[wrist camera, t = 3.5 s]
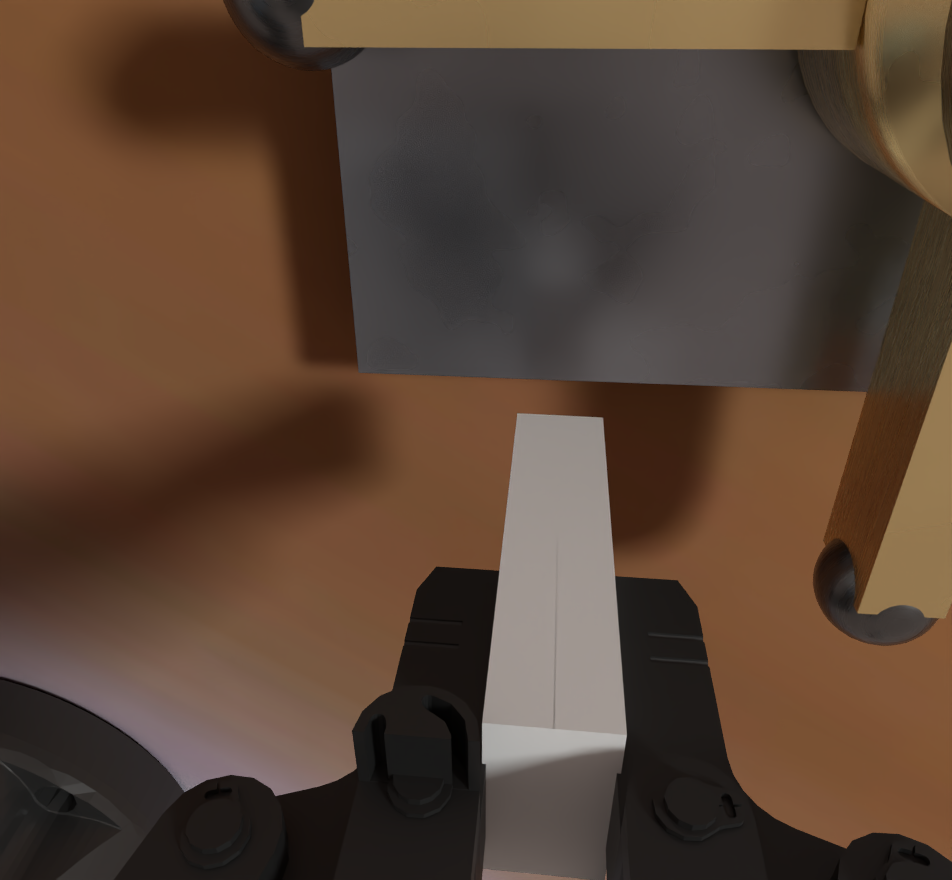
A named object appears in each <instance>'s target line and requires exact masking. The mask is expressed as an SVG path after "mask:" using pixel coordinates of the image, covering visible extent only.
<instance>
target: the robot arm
mask: <svg viewBox="0 0 952 880" xmlns="http://www.w3.org/2000/svg"><path fill="white" fill-rule="evenodd" d="M352 734H353V741H354V749H355V756H356V764H357V769H355V770H354V771H353V772H351V773H350V774H348V775H346V776H344V777H343V778H341V779H339V780H337V781H335V782H332V783H329V784H326V785H323V786H320V787H315V788H311V789H306V790H302V791H297V792H293V793H288V794H284V795H279V796H275V795H274V793H273V791H272V790H271V789H270V788H269V787H267V786H266V785H264V784H262V783H261V782H259V781H258V780H256V779H254V778H250V777H242V776H235V775H229V776H224V777H220V778H215V779H210V780H206V781H204V782H203V783H201V784H199V785H197V786H195V787H194V788H192V789H190V790H188V791H186V792H185V793H184V791H183V790H182V789H181V787H180V786H179V784H178V783H177V782H176V781H175V779H174V778H173V777H172V776H171V775H170V773H169V772H168V771H167V770H166V769H165V768H164V767H163V766H162V765H161V764H160V763H159V762H158V761H157V760H156V759H155V758H153V757H152V756H151V755H150V754H149V753H148V752H147V751H145V750H144V749H143V748H142V747H141V746H139V745H138V744H137V743H135V742H134V741H133V740H131V739H130V738H129V737H127V736H126V735H124V734H123V733H121V732H120V731H118V730H117V729H115V728H114V727H112V726H110V725H109V724H107V723H105V722H104V721H102V720H100V719H99V718H97V717H95V716H93V715H91V714H89V713H87V712H86V711H83V710H81V709H79V708H77V707H75V706H73V705H71V704H69V703H67V702H64V701H62V700H60V699H57V698H55V697H52V696H50V695H47V694H45V693H42V692H39V691H36V690H34V689H31V688H28V687H25V686H21V685H18V684H14V683H11V682H8V681H3V680H0V880H482V871H483V869H491V870H501V871H511V872H521V873H531V874H541V875H551V876H561V877H571V878H580V879H590V880H605V874H606V870H607V880H952V862H951V861H950V860H948V859H947V858H945V857H944V856H942V855H941V854H940V853H938V852H937V851H935V850H934V849H932V848H931V847H930V846H928V845H926V844H924V843H921V842H918V841H916V840H913V839H910V838H908V837H905V836H902V835H900V834H887V833H871V834H868V835H866V836H863V837H861V838H858V839H856V840H853V841H852V842H851V843H850V845H849V846H848V847H847V849H846V848H843V847H840V846H838V845H835V844H833V843H830V842H828V841H825V840H823V839H820V838H818V837H815V836H812V835H810V834H807V833H805V832H802V831H800V830H797V829H795V828H793V827H791V826H789V825H787V824H785V823H783V822H781V821H779V820H777V819H775V818H773V817H772V816H771V815H769V814H768V813H767V812H765V811H764V810H763V809H761V808H760V807H759V806H757V805H756V804H755V803H754V802H753V800H752V799H751V798H750V797H749V796H748V795H747V794H746V793H745V792H744V791H743V790H742V788H741V786H740V785H739V783H738V781H737V780H736V778H735V777H734V775H733V773H732V770H731V767H730V764H729V761H728V758H727V753H726V748H725V743H724V738H723V733H722V728H721V723H720V718H719V713H718V708H717V703H716V698H715V693H714V688H713V683H712V678H711V673H710V668H709V667H708V658H707V653H706V648H705V643H704V642H703V633H702V628H701V623H700V618H699V613H698V608H697V606H696V604H695V603H694V602H693V600H692V599H691V598H690V596H689V595H688V594H687V592H686V591H685V590H684V588H683V587H682V586H681V584H680V583H679V582H678V580H663V579H648V578H633V577H617V576H615V570H614V557H613V544H612V531H611V517H610V504H609V491H608V478H607V464H606V451H605V438H604V425H603V418H602V417H582V416H561V415H540V414H519V413H517V422H516V431H515V439H514V448H513V457H512V466H511V475H510V483H509V492H508V501H507V510H506V518H505V527H504V536H503V545H502V553H501V562H500V571H494V570H479V569H464V568H449V567H436V568H435V569H434V570H433V571H432V572H431V574H430V575H429V576H428V577H427V578H426V580H425V581H424V582H423V583H422V584H421V585H420V587H419V588H418V589H417V591H416V595H415V599H414V604H413V608H412V612H411V616H410V623H409V624H408V628H407V632H406V637H405V644H404V646H403V649H402V653H401V657H400V661H399V665H398V670H397V674H396V678H395V682H394V686H393V690H392V691H391V692H388V693H386V694H383V695H381V696H379V697H378V698H377V699H376V700H375V701H374V702H372V703H371V704H370V705H369V706H368V707H367V708H365V709H364V710H363V711H362V713H361V715H360V717H359V719H358V721H357V723H356V724H355V726H354V728H353V730H352Z"/></svg>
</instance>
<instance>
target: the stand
mask: <svg viewBox="0 0 952 880" xmlns="http://www.w3.org/2000/svg"><path fill="white" fill-rule="evenodd" d="M331 72H332V83H333V94H334V105H335V116H336V127H337V138H338V149H339V160H340V171H341V182H342V193H343V204H344V215H345V226H346V237H347V248H348V259H349V270H350V281H351V292H352V303H353V314H354V325H355V336H356V347H357V358H358V369H359V373H383V374H410V375H436V376H463V377H489V378H516V379H542V380H569V381H595V382H622V383H648V384H675V385H701V386H728V387H754V388H781V389H807V390H834V391H860V392H867V391H868V388H869V384H870V381H871V378H872V374H873V371H874V367H875V364H876V361H877V357H878V354H879V351H880V347H881V344H882V340H883V337H884V334H885V330H886V327H887V324H888V320H889V317H890V313H891V310H892V307H893V303H894V300H895V297H896V293H897V290H898V286H899V283H900V280H901V276H902V273H903V270H904V266H905V263H906V259H907V256H908V253H909V249H910V246H911V243H912V239H913V236H914V232H915V229H916V226H917V222H918V219H919V216H920V212H921V209H922V205H923V202H924V199H922V198H921V197H919V196H917V195H916V194H914V193H913V192H911V191H910V190H908V189H906V188H905V187H903V186H902V185H900V184H898V183H897V182H895V181H894V180H892V179H890V178H889V177H887V176H886V175H884V174H882V173H881V172H879V171H878V170H876V169H874V168H873V167H871V166H870V165H868V164H866V163H865V162H863V161H862V160H860V159H859V158H857V157H856V156H855V155H854V154H852V153H851V152H850V151H849V150H848V149H846V148H845V147H844V146H843V145H842V144H841V143H840V142H839V141H838V140H837V139H836V138H835V136H834V135H833V134H832V133H831V132H830V131H829V129H828V128H827V127H826V125H825V124H824V122H823V121H822V119H821V117H820V116H819V114H818V113H817V111H816V109H815V108H814V105H813V103H812V101H811V98H810V96H809V94H808V91H807V89H806V87H805V84H804V80H803V76H802V72H801V68H800V65H799V61H798V52H797V50H773V49H575V48H377V47H366V48H365V49H364V50H363V51H362V52H361V53H360V54H359V55H357V56H356V57H355V58H354V59H352V60H350V61H349V62H347V63H345V64H343V65H340V66H338V67H335V68H331Z"/></svg>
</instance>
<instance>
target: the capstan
mask: <svg viewBox="0 0 952 880" xmlns="http://www.w3.org/2000/svg"><path fill="white" fill-rule="evenodd" d="M223 1H224V4H225V6H226V8H227V11H228V13H229V15H230V16H231V18H232V20H233V22H234V23H235V25H236V26H237V28H238V29H239V30H240V32H241V33H242V35H243V36H244V37H245V38H246V39H247V40H248V41H249V42H250V43H251V44H252V45H253V46H254V47H255V48H256V49H257V50H258V51H260V52H261V53H262V54H264V55H265V56H267V57H268V58H270V59H272V60H274V61H276V62H277V63H280V64H282V65H285V66H288V67H290V68H294V69H299V70H306V71H319V70H326V69H331V68H335V67H338V66H340V65H343V64H345V63H347V62H349V61H350V60H352V59H354V58H355V57H356V56H357V55H359V54H360V53H361V52H362V51H363V50H364V49H365V48H366V47H377V48H575V49H773V50H797V52H798V61H799V65H800V68H801V72H802V76H803V80H804V84H805V87H806V89H807V91H808V94H809V96H810V98H811V101H812V103H813V105H814V108H815V109H816V111H817V113H818V114H819V116H820V117H821V119H822V121H823V122H824V124H825V125H826V127H827V128H828V129H829V131H830V132H831V133H832V134H833V135H834V136H835V138H836V139H837V140H838V141H839V142H840V143H841V144H842V145H843V146H844V147H845V148H846V149H848V150H849V151H850V152H851V153H852V154H854V155H855V156H856V157H857V158H859V159H860V160H862V161H863V162H865V163H866V164H868V165H870V166H871V167H873V168H874V169H876V170H878V171H879V172H881V173H882V174H884V175H886V176H887V177H889V178H890V179H892V180H894V181H895V182H897V183H898V184H900V185H902V186H903V187H905V188H906V189H908V190H910V191H911V192H913V193H914V194H916V195H917V196H919V197H921V198H922V199H924V202H923V205H922V209H921V212H920V216H919V219H918V222H917V226H916V229H915V232H914V236H913V239H912V243H911V246H910V249H909V253H908V256H907V259H906V263H905V266H904V270H903V273H902V276H901V280H900V283H899V286H898V290H897V293H896V297H895V300H894V303H893V307H892V310H891V313H890V317H889V320H888V324H887V327H886V330H885V334H884V337H883V340H882V344H881V347H880V351H879V354H878V357H877V361H876V364H875V367H874V371H873V374H872V378H871V381H870V384H869V388H868V391H867V394H866V398H865V401H864V405H863V408H862V411H861V415H860V418H859V422H858V425H857V428H856V432H855V435H854V438H853V442H852V445H851V449H850V452H849V455H848V459H847V462H846V465H845V469H844V472H843V476H842V479H841V482H840V486H839V489H838V492H837V496H836V499H835V503H834V506H833V509H832V513H831V516H830V519H829V523H828V526H827V530H826V533H825V536H824V540H823V541H824V543H825V545H826V546H825V548H824V549H823V550H822V552H821V553H820V555H819V557H818V559H817V562H816V565H815V568H814V574H813V586H814V593H815V596H816V599H817V602H818V604H819V606H820V608H821V610H822V612H823V613H824V615H825V616H826V617H827V619H828V620H829V621H830V622H831V623H832V624H833V625H834V626H835V627H836V628H838V629H839V630H840V631H842V632H843V633H845V634H846V635H848V636H849V637H851V638H854V639H856V640H858V641H861V642H864V643H868V644H873V645H881V646H889V645H898V644H903V643H906V642H909V641H912V640H914V639H916V638H918V637H920V636H921V635H923V634H924V633H926V632H927V631H928V630H929V629H930V628H931V627H932V626H933V625H934V624H935V623H936V621H937V620H938V619H939V618H944V619H945V617H946V615H947V612H948V610H949V608H950V605H951V603H952V0H223Z"/></svg>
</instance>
